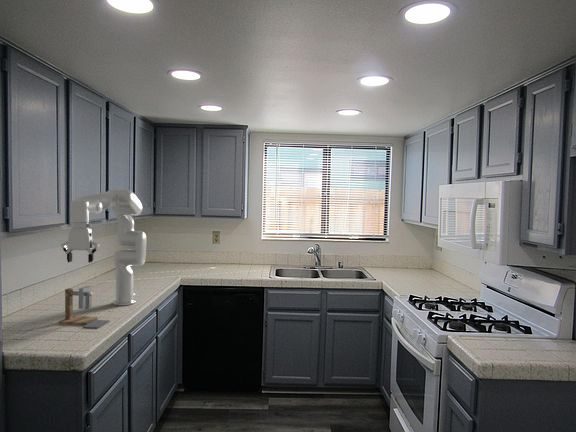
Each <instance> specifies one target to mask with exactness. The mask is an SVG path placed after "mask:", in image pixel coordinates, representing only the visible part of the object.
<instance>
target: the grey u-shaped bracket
mask: <svg viewBox="0 0 576 432" xmlns="http://www.w3.org/2000/svg"><path fill="white" fill-rule="evenodd" d="M92 290H93V286H92V285H86V286H82V287H80V288H78V291H79V296H78V309H80V310H82V309H84V310H91V309H92V302H93V301H92V298H93V297H92V296H93V295H92V296H86V292H92ZM92 293H93V292H92Z"/></svg>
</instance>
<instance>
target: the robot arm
mask: <svg viewBox="0 0 576 432" xmlns="http://www.w3.org/2000/svg"><path fill="white" fill-rule="evenodd" d="M110 208H111V210H112V212H113V214H114V215H115V217H116V219H117V221H118V222H117V223H118V227H117V228H118V232H117V243H118V245H119V246H120V247H124V248H122V249H121V248H120V249H118V250H116V251H115V252H114V254H113V261H114V266H115V300H113V301H112V304H113V305H114V306H122V307H123V306H131V305H134V304H136V303H137V299H134V297H136V293H135V292H134V271H133V269H132V267H142V266H143V265H144V264H145V262H146V258H147V243H148V242H147V235H146V233H145V232H144V231H143V230H135V221H134V219H133V217H132V216H139V215H141V213H142V212H143V205H142V202H141V200H140V199H139V198H138V196H137V195H136V194H135V192H134V191H132V190H130V189H120V188H119V189H110V190H106V191H105V192H102V193H101V192H100V193H95V194H90V195H86V196H85V195H84V196H80V197H77V198H75V199H73V200H72V201H71V203H70V213H71V214H70V215H71V216H70V217H71V219H70V220H71V221H70V223H71V224H70V227H71V228H69V231H68V232H69V233H68V239H67V240H66V241H64V242H63V243H61V244H60V245H61V248H62V249H63V251H64V252H65V254H66V261H67V263H72V262H73V253H72V252H73V251H87V252H88V255H87V258H88V264H89V263H92V262H93V261H94V254H95V253H96V252H97V251H98V249H99V247H100V244H99V243H97V242H95V241H94V240H93V238H94V237H93V234H92V228H90V227H93V225H92V223H90V215H91V216H95V215H96V216H97V215H99V214H101V212H102V211H103V210H108V209H110ZM125 247H127V248H125ZM131 248H132V249H131ZM133 248H134V249H133Z"/></svg>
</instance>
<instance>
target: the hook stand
mask: <svg viewBox="0 0 576 432" xmlns="http://www.w3.org/2000/svg"><path fill="white" fill-rule="evenodd" d="M73 296H78V297H79V290H77V291H74V288H66V289H65V290H64V297H65V298H64V302H65V303H64V309H65V310H64V314H65V315H64V317H65V318H63V319H61V320H59V321H58V325H73V326H74V325H75V326H76V325H77V326H85V325H87V324H88V323H90V322H92V321H94V320H99V319H98V316H87V315H86V316H85V315H74V313H73V312H74V311H73V310H74V309H73V307H74V305H73V303H74V299H73ZM86 296H93V292H86Z"/></svg>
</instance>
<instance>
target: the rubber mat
mask: <svg viewBox="0 0 576 432" xmlns="http://www.w3.org/2000/svg"><path fill="white" fill-rule="evenodd" d="M108 323H110V320H107V319H106V320H105V319H104V320H103V319H97V320H94V321H92V322H90V323H88V324H87V325H82V329H100V328H102V327H103V326H105V325H107V324H108Z"/></svg>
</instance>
